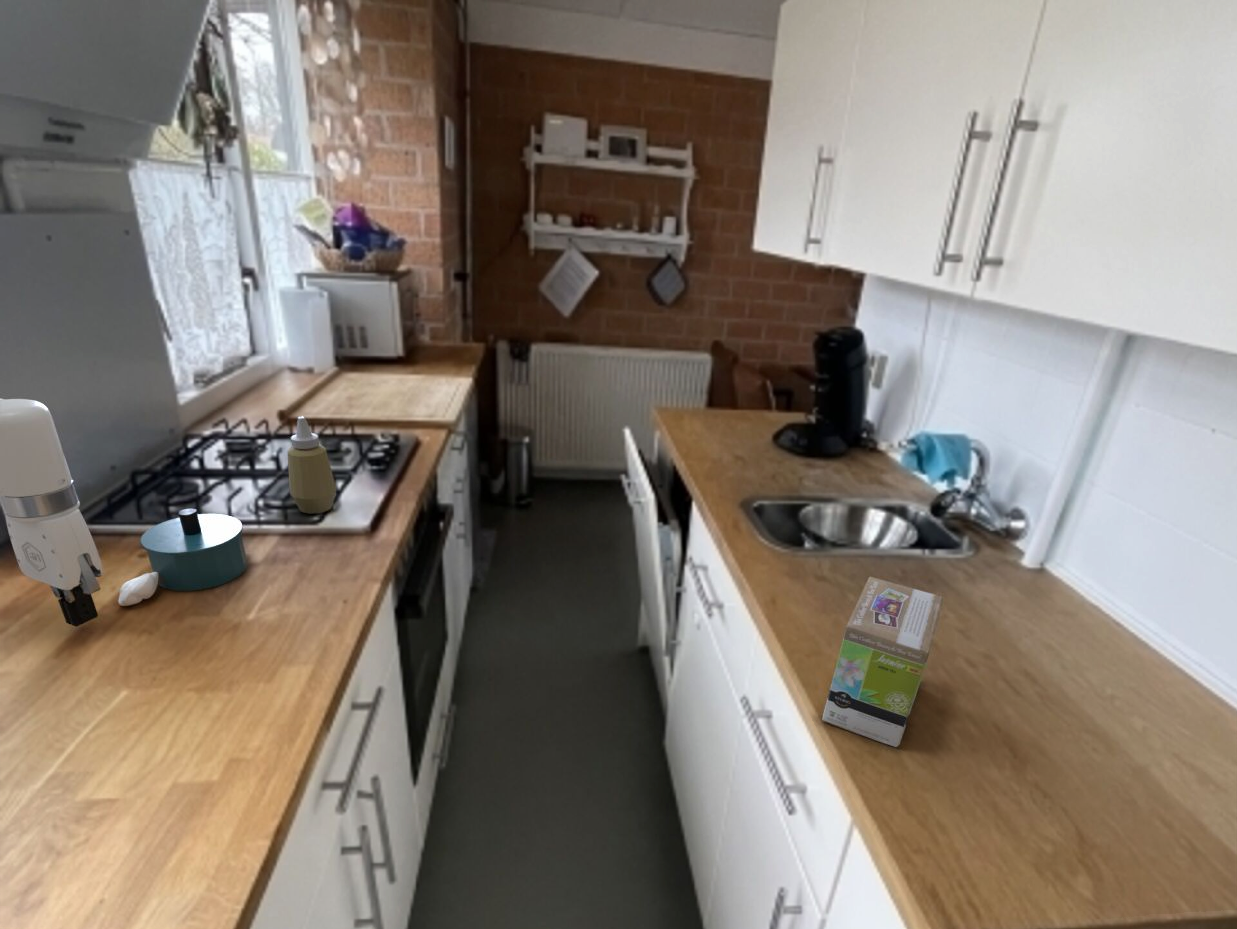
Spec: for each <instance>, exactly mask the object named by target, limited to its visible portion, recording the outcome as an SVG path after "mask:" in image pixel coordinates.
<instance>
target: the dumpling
mask: <svg viewBox="0 0 1237 929" xmlns="http://www.w3.org/2000/svg"><path fill="white" fill-rule="evenodd" d="M158 585H159V584H158V573H157V572H153V571H152V572H146V573H143V574H141V575H140V576H137V577H135V578H132V579H130V580H128V581H126V582H124V583H123V584H122V586H121V587H120V589H119V596H118V601H117V602H118V605H119V606H122V607H127V606H133V605H136V604H138V603H140V602H142V601H143V600H147V599H150V598H151V597H153V595H154V594H155V592H156V590H157V587H158Z"/></svg>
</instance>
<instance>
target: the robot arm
mask: <svg viewBox="0 0 1237 929" xmlns="http://www.w3.org/2000/svg"><path fill="white" fill-rule="evenodd" d="M75 486H76V485H75V484H74V480H73V478H72V475H71V471H70V468H69V465H68V462H67V459H66V456H65V453H64V450H63V446H62V443H61V441H60V437H59V435H58V431H57V427H56V425H55V421H54V419H53V416H52V414H51V411H50V410H49V408H48V407H47V406H46V405H45V404H43V403H42V402H40V401H37V400H34V399H27V398H26V399H25V398H10V399H8V398H7V399H6V398H5V399H3V398H1V397H0V505H1V507H2V511H3V514H4V516H5V522H6V527H7V532H8V535H9V539H10V542H11V546H12V549H13V552H14V555H15V558H16V561H17V563H18V567H19V570H20V571H21V573H22V574H23V575H25V576H26V577H27V578H30V579H32V580H35V581H38V582H40V583H43V584H45V585H48V586H49V587H50V590H51V591H52V594H53V595H54V597H55V598H57V601H58V605H59V607H60V610H61V612H62V616H63V618H64V620H65V623H66V624H68V625H71V626H72V627H75V628H76V627H80V626H82V625H84V624H85V623H88V622H90V621H92V620H94V619H96V618H97V617H98V616H99V614H98V611H97V608H96V605H95V602H94V599H93V597H92V594H94V593H96V592H99V591H101V586H100V583H99V582H98V580H97V578H101V577H102V576H103V574H104V569H103V568H104V567H103V565H102V564H103V563H102V560H101V557H100V554H99V552H98V549H97V545H96V544H95V540H94V539H93V536H92V534H91V532H90V530H89V527H88V525H87V523H86V521H85V518H84V516H83V514H82V513H81V511H80V506H81V502H80V499H79V495H78V492H77V490H76V487H75Z"/></svg>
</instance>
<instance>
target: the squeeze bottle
mask: <svg viewBox="0 0 1237 929" xmlns="http://www.w3.org/2000/svg"><path fill="white" fill-rule="evenodd" d="M296 424H297V425H296V434H293V435H292V436H290V443H291V447H290V448H289V449H288V450H287V451H286V452H287V453H286V454H287V466H288V467H287V468H288V480H289V481H288V482H289V483H288V484H289V494H290V496H291V498H292V499H293V501H294V502H295V504H296V506H297V507H298V510H299V511H300V512H302V513H304V514H308V515H309V514H321V513H325V512H328V511H329V510H331V509H332V508H333V505H334V501H335V498H336V497H335V496H336V493H337V486H336V482H335V478H334V474H333V471H332V467H331V463H330V459H329V455H328V451H327V449H326V447H325V446H323V445H321V444H320V438H319V434H316V433H313V432H312V431H311V428H310V426H309V424H308V421H307V419H306V417H305V416H303V415H301V416H298V417H297V421H296Z"/></svg>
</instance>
